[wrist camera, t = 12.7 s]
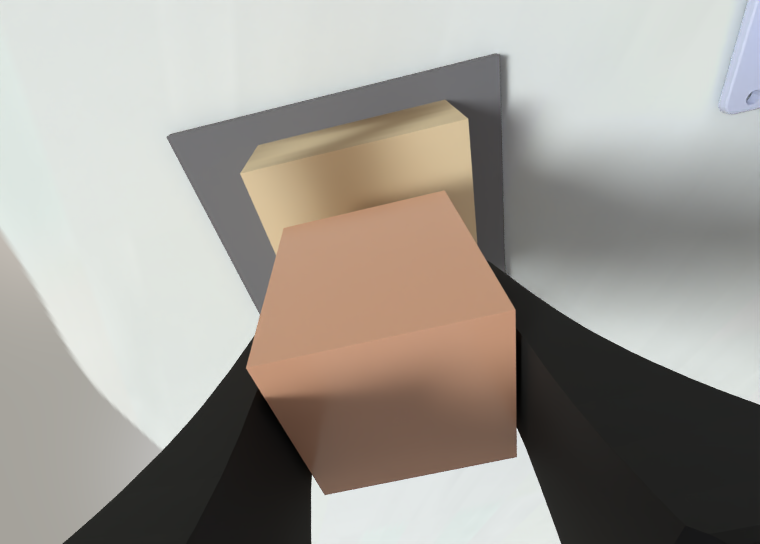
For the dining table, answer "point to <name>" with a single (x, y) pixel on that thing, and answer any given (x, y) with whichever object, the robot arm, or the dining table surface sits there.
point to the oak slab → (363, 168)
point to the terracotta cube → (387, 346)
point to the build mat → (243, 134)
